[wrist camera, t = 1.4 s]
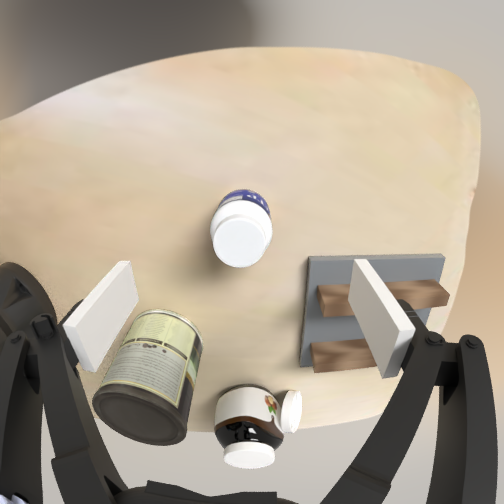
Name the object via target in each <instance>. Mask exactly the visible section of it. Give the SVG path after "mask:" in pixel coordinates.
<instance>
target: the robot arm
mask: <svg viewBox="0 0 504 504" xmlns="http://www.w3.org/2000/svg"><path fill="white" fill-rule="evenodd" d="M138 301H139V298H138V294H137V289H136V285H135V280H134V276H133V271H132V266H131V261H119V262H118V263H117V264H116V265H115V266H114V267H113V268H112V270H111V271H110V272H109V273H108V274H107V275H106V276H105V277H104V278H103V279H102V280H101V281H100V282H99V284H98V285H97V286H96V287H95V288H94V289H93V290H92V291H91V292H90V294H89V295H88V296H87V297H86V298H85V299H82V300H81V301H79V302H78V303H76V304H75V305H74V306H73V308H72V309H71V311H69V312H68V313H67V315H66V316H65V317H64V318H63V319H62V320H61V321H60V323H59V324H58V325H57V319H56V315H55V311H54V308H53V306H52V303H51V301H50V299H49V297H48V296H47V294H46V292H45V291H44V289H43V288H42V286H41V285H40V284H39V282H38V281H37V280H36V279H35V278H34V277H33V276H32V275H31V274H30V273H29V272H28V271H27V270H26V269H24V268H23V267H21V266H20V265H18V264H15V263H11V262H7V263H4V264H2V265H1V266H0V504H43V491H42V476H41V426H42V411H43V404H44V409H45V414H46V419H47V424H48V428H49V433H50V437H51V441H52V445H53V448H54V452H55V456H56V457H55V458H53V459H52V460H51V464H52V469H53V472H54V475H55V478H56V481H57V484H58V487H59V489H60V493H61V495H62V498H63V501H64V503H65V504H298V503H295V502H293V501H289V500H286V499H282V498H277V492H240V493H234V494H227V495H220V496H212V497H209V496H204V495H202V494H199V493H196V492H193V491H190V490H187V489H185V488H182V487H180V486H177V485H171V484H165V483H159V482H154V481H150V480H148V481H147V486H144V487H135V488H131V489H128V487H127V486H126V485H125V484H124V482H123V480H122V479H121V477H120V475H119V473H118V472H117V470H116V468H115V466H114V464H113V462H112V460H111V458H110V455H109V453H108V451H107V449H106V446H105V445H104V442H103V440H102V437H101V435H100V433H99V430H98V428H97V425H96V423H95V420H94V417H93V415H92V412H91V409H90V406H89V404H88V401H87V398H86V395H85V392H84V389H83V386H82V382H81V379H80V376H79V372H78V370H77V368H76V365H77V363H78V362H80V364H81V366H82V368H83V370H86V371H90V372H95V373H96V371H97V369H98V367H99V366H100V364H101V362H102V360H103V359H104V357H105V355H106V353H107V352H108V350H109V348H110V347H111V345H112V343H113V341H114V340H115V338H116V336H117V335H118V333H119V331H120V330H121V328H122V327H123V325H124V323H125V322H126V320H127V318H128V317H129V315H130V314H131V312H132V310H133V309H134V307H135V306H136V304H137V302H138ZM348 301H349V303H350V306H351V308H352V310H353V312H354V314H355V316H356V319H357V321H358V323H359V325H360V327H361V330H362V332H363V334H364V336H365V339H366V341H367V343H368V345H369V348H370V350H371V352H372V355H373V357H374V359H375V362H376V364H377V367H378V369H379V371H380V374H381V376H382V379H383V378H389V377H395V376H397V375H398V373H399V371H400V368H401V367H402V369H403V371H404V373H403V375H402V377H401V379H400V381H399V384H398V386H397V388H396V390H395V391H394V393H393V395H392V397H391V399H390V401H389V403H388V405H387V407H386V408H385V410H384V412H383V414H382V416H381V417H380V419H379V421H378V423H377V425H376V426H375V428H374V429H373V431H372V433H371V434H370V436H369V437H368V439H367V441H366V443H365V444H364V445H363V447H362V448H361V450H360V451H359V453H358V454H357V456H356V457H355V459H354V460H353V462H352V463H351V465H350V466H349V467H348V468H347V470H346V471H345V472H344V474H343V475H342V477H341V478H340V479H339V480H338V482H337V483H336V484H335V486H334V487H333V488H332V489H331V491H330V492H329V493H328V494H327V496H326V497H325V498H324V499H323V500H322V502H321V503H320V504H382V502H383V501H384V499H385V497H386V496H387V494H388V492H389V490H390V488H391V481H392V479H393V478H394V476H395V474H396V472H397V470H398V468H399V467H400V465H401V463H402V460H403V459H404V457H405V454H406V453H407V451H408V449H409V447H410V444H411V442H412V440H413V438H414V436H415V433H416V431H417V429H418V426H419V424H420V422H421V419H422V417H423V414H424V412H425V409H426V406H427V404H428V401H429V398H430V395H431V393H432V390H433V387H434V386H440V387H439V415H438V431H437V441H436V450H435V458H434V465H433V471H432V477H431V483H430V488H429V493H428V497H427V502H426V504H495V501H496V489H497V469H498V467H497V466H498V449H497V448H498V447H497V428H496V415H495V406H494V398H493V392H492V391H493V390H492V384H491V378H490V373H489V368H488V362H487V357H486V353H485V349H484V345H483V343H482V341H481V340H480V339H479V338H478V337H476V336H473V335H464V336H462V337H461V339H460V341H459V343H448V342H446V341H445V339H444V338H443V337H442V336H441V335H440V334H438V333H436V332H432V331H428V329H427V328H426V326H425V325H424V323H423V322H422V321H421V319H420V318H419V316H418V315H417V314H416V312H415V311H414V309H413V308H412V307H411V305H410V304H409V303H407V302H406V301H404V300H403V299H395V298H394V296H393V295H392V293H391V292H390V291H389V289H388V288H387V287H386V285H385V284H384V282H383V281H382V280H381V278H380V277H379V276H378V274H377V273H376V271H375V270H374V269H373V267H372V266H371V265H370V263H369V262H368V261H367V260H366V259H354V263H353V270H352V277H351V284H350V290H349V296H348Z"/></svg>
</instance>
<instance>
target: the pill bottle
mask: <svg viewBox="0 0 504 504" xmlns="http://www.w3.org/2000/svg"><path fill="white" fill-rule="evenodd" d="M210 234H211V239H212V242H213V248H214V251H215V253H216V255H217V256H218V258H219V259H220V260H221V261H222V262H224V263H225V264H227V265H229V266H232V267H237V268H243V267H248V266H250V265H253V264H254V263H256V262H257V261H258V260H259V259H260V258H261V257H262V255H263V253H264V251H265V250H266V249H267V247H268V246H269V244H270V242H271V238H272V222H271V216H270V211H269V207H268V204H267V202H266V200H265V199H264V198H263V197H262V196H261V195H260V194H259V193H257V192H255V191H253V190H250V189H238V190H234V191H232V192H230V193H229V194H227V195H226V196H225V197H224V198H223V200H222V201H221V203H220V205H219V207H218V209H217V211H216V212H215V214H214V216H213V219H212V222H211V226H210Z"/></svg>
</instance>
